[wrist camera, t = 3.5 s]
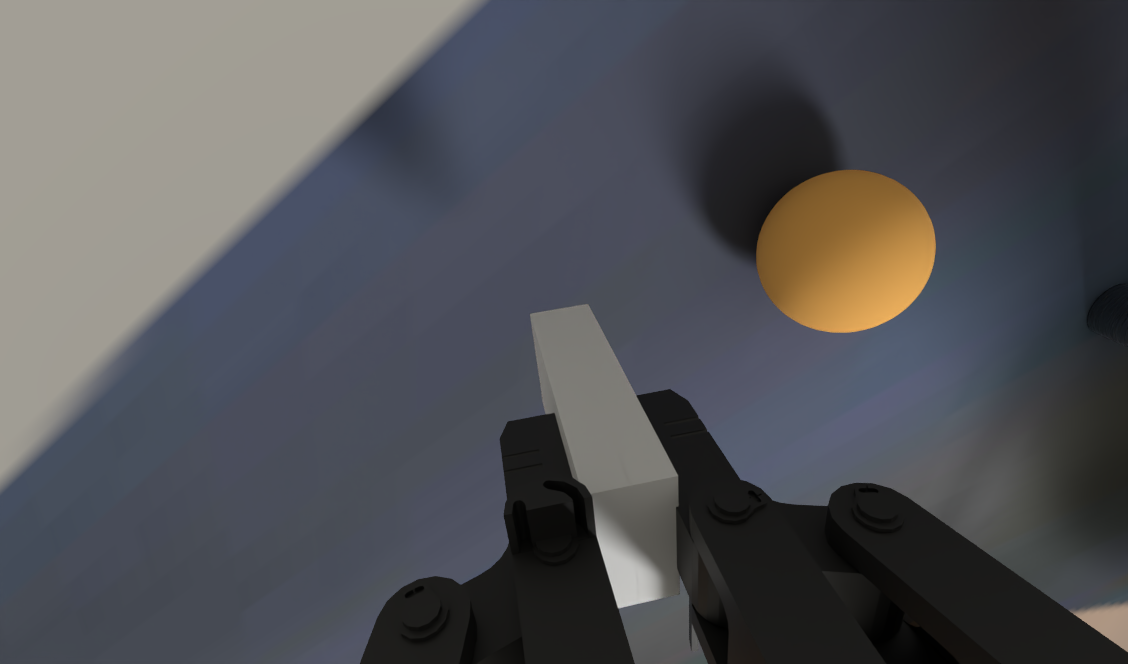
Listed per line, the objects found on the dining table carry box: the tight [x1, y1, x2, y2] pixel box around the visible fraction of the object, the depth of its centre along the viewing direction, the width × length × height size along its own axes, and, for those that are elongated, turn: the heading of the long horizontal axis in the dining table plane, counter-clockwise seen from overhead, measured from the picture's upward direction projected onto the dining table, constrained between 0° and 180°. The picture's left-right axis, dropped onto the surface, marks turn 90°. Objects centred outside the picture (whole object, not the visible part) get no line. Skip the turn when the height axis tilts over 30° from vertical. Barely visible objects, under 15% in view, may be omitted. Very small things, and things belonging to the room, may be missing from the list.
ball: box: [756, 170, 936, 332], centre depth 20 cm, size 6×6×6 cm
